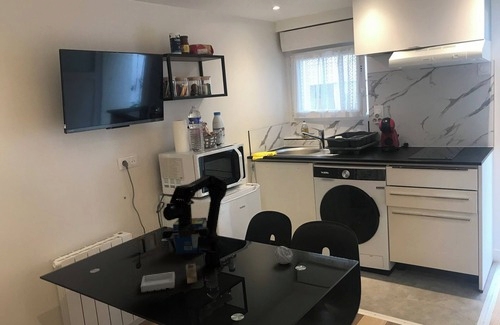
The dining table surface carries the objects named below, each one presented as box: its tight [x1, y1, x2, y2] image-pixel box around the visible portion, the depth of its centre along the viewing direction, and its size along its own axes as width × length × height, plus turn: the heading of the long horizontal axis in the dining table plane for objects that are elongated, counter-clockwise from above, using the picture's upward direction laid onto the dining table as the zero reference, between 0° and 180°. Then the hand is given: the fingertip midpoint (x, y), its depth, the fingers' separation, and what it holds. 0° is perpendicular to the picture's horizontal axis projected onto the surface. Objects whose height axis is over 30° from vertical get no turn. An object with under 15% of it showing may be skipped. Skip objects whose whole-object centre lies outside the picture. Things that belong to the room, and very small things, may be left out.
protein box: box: [172, 217, 207, 255], centre depth 218 cm, size 10×15×16 cm
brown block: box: [185, 263, 198, 284], centre depth 180 cm, size 4×6×7 cm, turn 9°
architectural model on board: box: [137, 232, 159, 254], centre depth 225 cm, size 11×3×10 cm, turn 150°
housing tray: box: [140, 271, 176, 293], centre depth 179 cm, size 13×11×2 cm
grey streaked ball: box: [274, 245, 294, 265], centre depth 190 cm, size 8×8×8 cm
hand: (186, 252), depth 179 cm, fingers open, 9 cm apart
